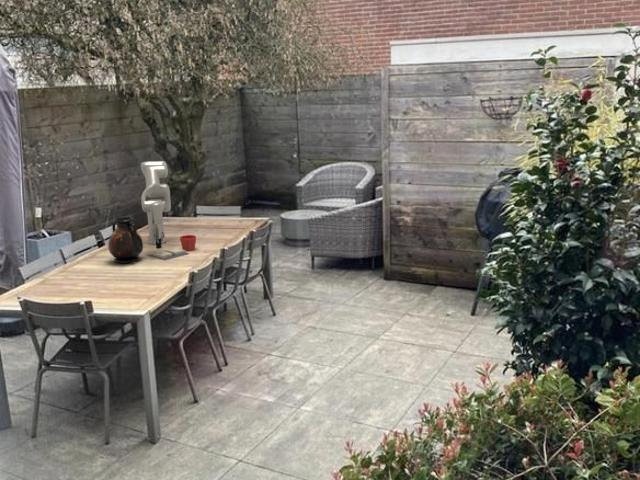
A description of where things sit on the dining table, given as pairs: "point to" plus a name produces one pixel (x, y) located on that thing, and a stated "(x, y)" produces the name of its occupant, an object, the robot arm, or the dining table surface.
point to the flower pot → (188, 242)
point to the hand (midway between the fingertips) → (158, 248)
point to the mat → (168, 257)
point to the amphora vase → (125, 241)
